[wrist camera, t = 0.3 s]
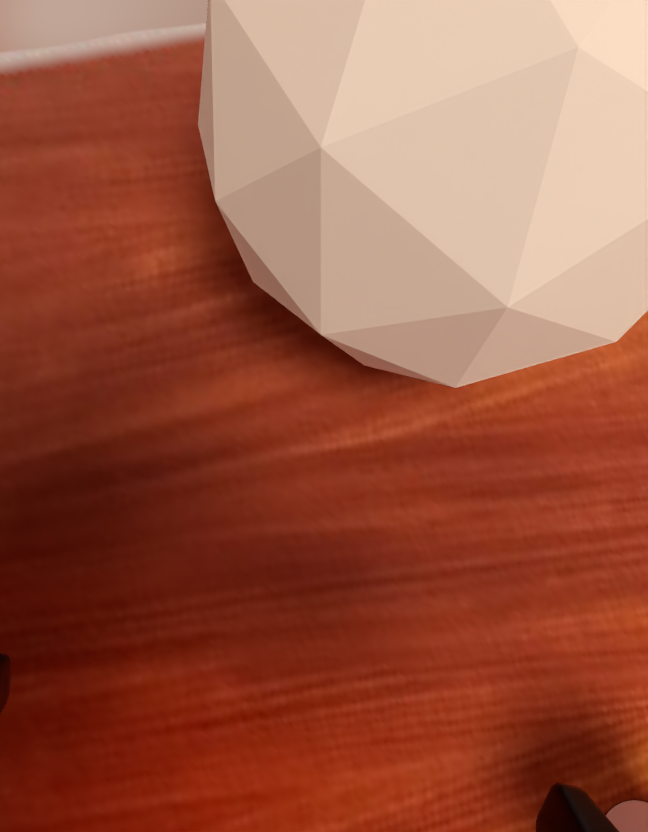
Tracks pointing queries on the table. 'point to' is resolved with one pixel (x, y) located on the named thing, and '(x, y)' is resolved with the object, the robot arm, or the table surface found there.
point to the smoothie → (630, 816)
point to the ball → (436, 173)
